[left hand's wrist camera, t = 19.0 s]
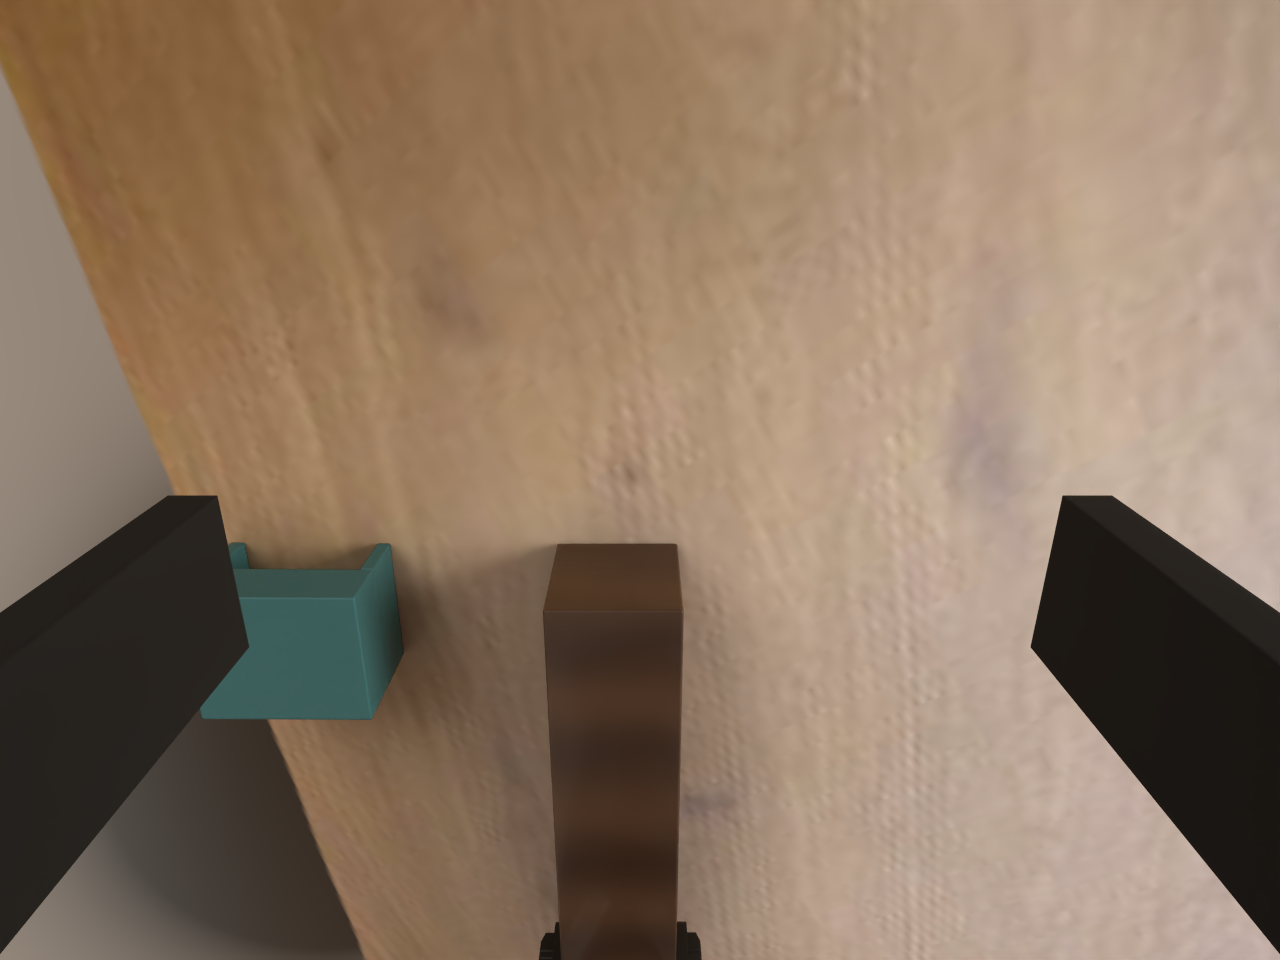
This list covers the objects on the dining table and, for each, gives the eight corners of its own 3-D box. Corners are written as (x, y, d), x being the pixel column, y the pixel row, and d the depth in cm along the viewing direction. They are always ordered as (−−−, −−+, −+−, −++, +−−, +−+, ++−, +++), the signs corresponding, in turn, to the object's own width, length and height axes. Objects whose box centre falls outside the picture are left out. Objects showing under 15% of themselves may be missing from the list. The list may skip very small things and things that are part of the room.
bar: (557, 543, 37) (542, 610, 31) (676, 543, 37) (683, 610, 31) (575, 947, 46) (566, 1055, 40) (670, 947, 46) (673, 1055, 40)
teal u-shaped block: (231, 542, 36) (172, 597, 32) (390, 543, 37) (353, 598, 32) (254, 653, 39) (201, 719, 34) (404, 653, 39) (371, 720, 34)
